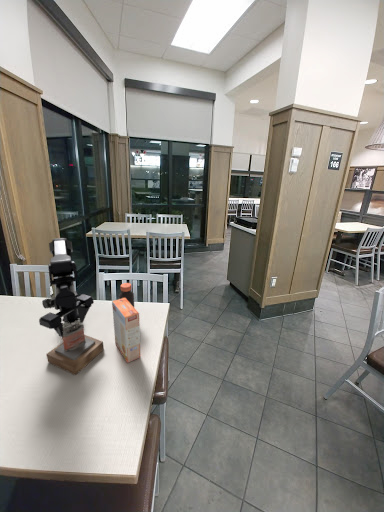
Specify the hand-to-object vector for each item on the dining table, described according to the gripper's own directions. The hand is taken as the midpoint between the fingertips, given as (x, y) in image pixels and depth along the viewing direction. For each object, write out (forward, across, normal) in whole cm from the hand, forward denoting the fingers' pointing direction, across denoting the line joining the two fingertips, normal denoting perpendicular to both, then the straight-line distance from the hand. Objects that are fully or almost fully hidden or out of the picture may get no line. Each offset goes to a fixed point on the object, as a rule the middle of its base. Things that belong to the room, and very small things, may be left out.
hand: (71, 328), depth 85 cm
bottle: (+13, -27, +5) cm, 30 cm away
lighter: (+8, 0, +1) cm, 8 cm away
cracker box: (+12, -11, +17) cm, 24 cm away
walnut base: (+12, 0, +1) cm, 12 cm away
